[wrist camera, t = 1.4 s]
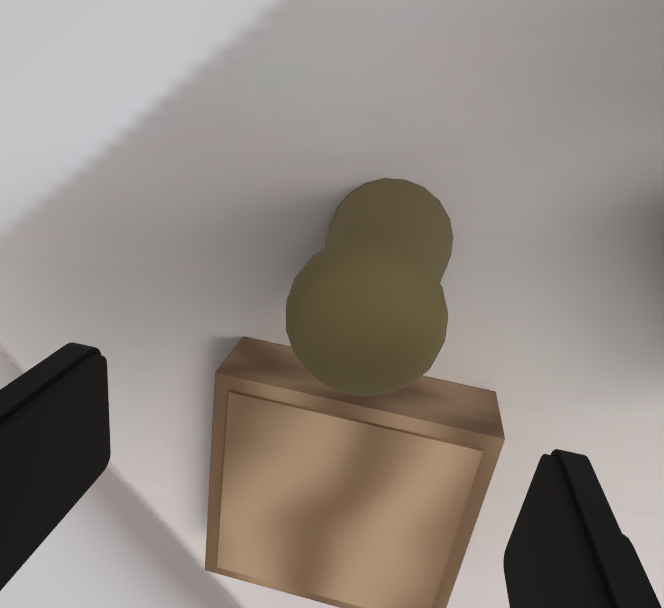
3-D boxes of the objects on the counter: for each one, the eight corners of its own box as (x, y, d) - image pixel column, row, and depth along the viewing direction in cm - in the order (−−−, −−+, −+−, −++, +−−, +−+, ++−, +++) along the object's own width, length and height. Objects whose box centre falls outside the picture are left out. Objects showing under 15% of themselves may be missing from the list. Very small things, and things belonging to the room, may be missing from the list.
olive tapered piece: (322, 184, 24) (242, 248, 15) (450, 172, 23) (461, 234, 13) (336, 300, 27) (275, 426, 17) (454, 295, 25) (466, 429, 15)
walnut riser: (495, 392, 27) (505, 441, 23) (436, 573, 33) (436, 637, 29) (243, 336, 29) (213, 374, 25) (229, 519, 34) (203, 573, 30)
